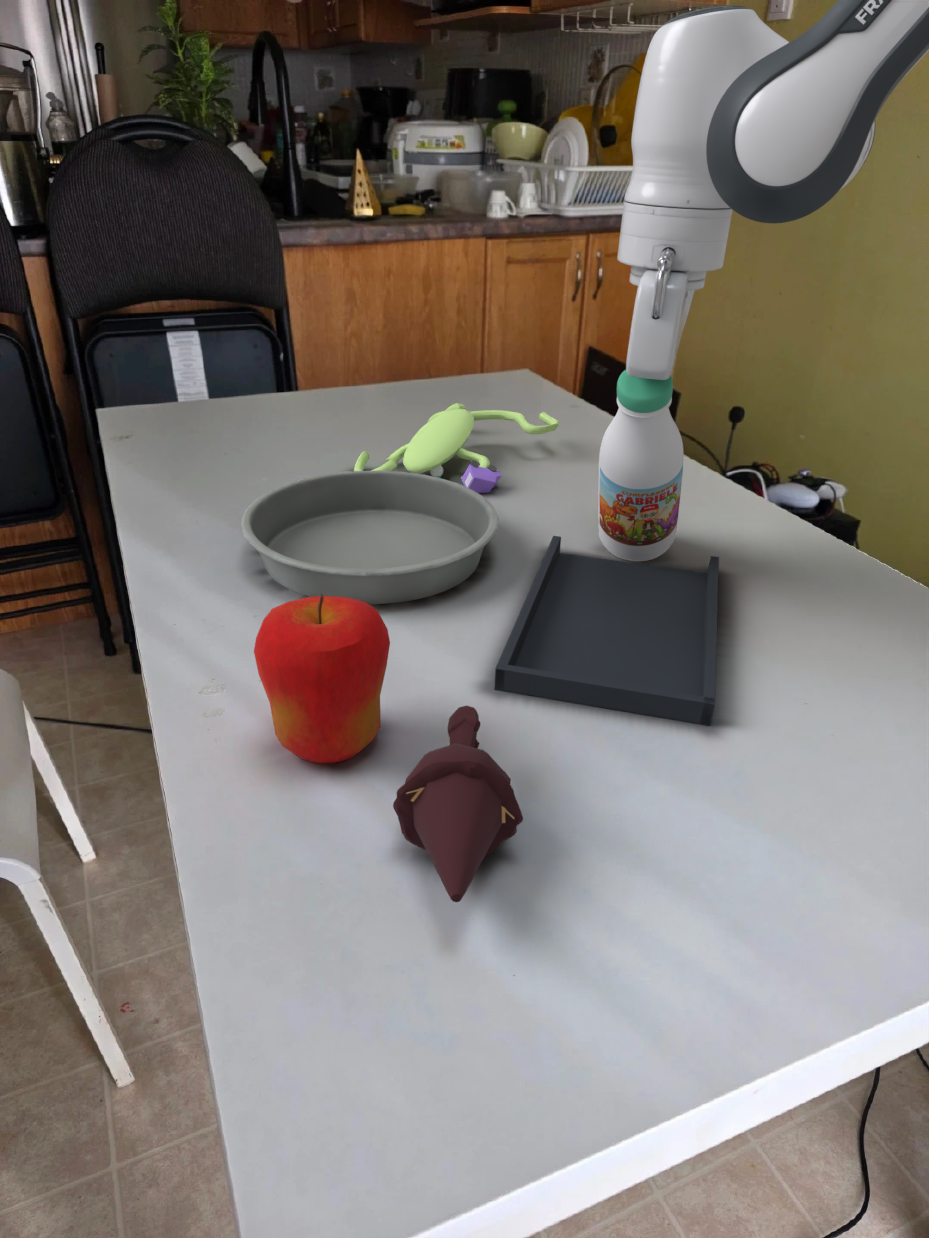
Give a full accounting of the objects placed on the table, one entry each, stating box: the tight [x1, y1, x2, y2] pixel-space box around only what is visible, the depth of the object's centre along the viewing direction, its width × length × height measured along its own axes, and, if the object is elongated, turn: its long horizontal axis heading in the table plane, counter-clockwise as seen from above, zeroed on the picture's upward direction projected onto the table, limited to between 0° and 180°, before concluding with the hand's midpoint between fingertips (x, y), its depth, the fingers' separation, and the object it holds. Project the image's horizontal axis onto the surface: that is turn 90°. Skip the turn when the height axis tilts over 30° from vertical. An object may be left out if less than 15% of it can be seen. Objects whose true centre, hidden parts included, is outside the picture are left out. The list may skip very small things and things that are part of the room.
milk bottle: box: [597, 369, 685, 563], centre depth 81 cm, size 8×8×20 cm
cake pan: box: [240, 470, 500, 605], centre depth 86 cm, size 25×25×4 cm
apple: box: [253, 593, 391, 765], centre depth 58 cm, size 9×8×12 cm
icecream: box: [392, 705, 524, 903], centre depth 51 cm, size 7×7×15 cm
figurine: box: [353, 402, 560, 494], centre depth 110 cm, size 18×27×6 cm
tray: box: [494, 535, 720, 727], centre depth 76 cm, size 26×16×2 cm, turn 165°
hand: (648, 405), depth 81 cm, fingers closed
